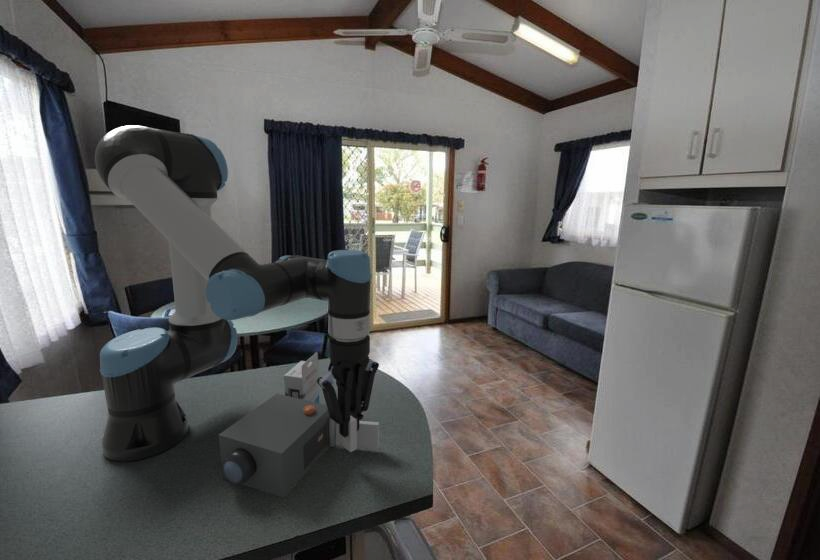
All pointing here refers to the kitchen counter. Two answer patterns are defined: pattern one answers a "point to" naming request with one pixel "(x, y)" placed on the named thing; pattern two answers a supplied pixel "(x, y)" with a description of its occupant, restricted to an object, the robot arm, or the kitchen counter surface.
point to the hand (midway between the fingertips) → (349, 447)
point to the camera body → (276, 444)
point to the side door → (363, 435)
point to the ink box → (303, 380)
